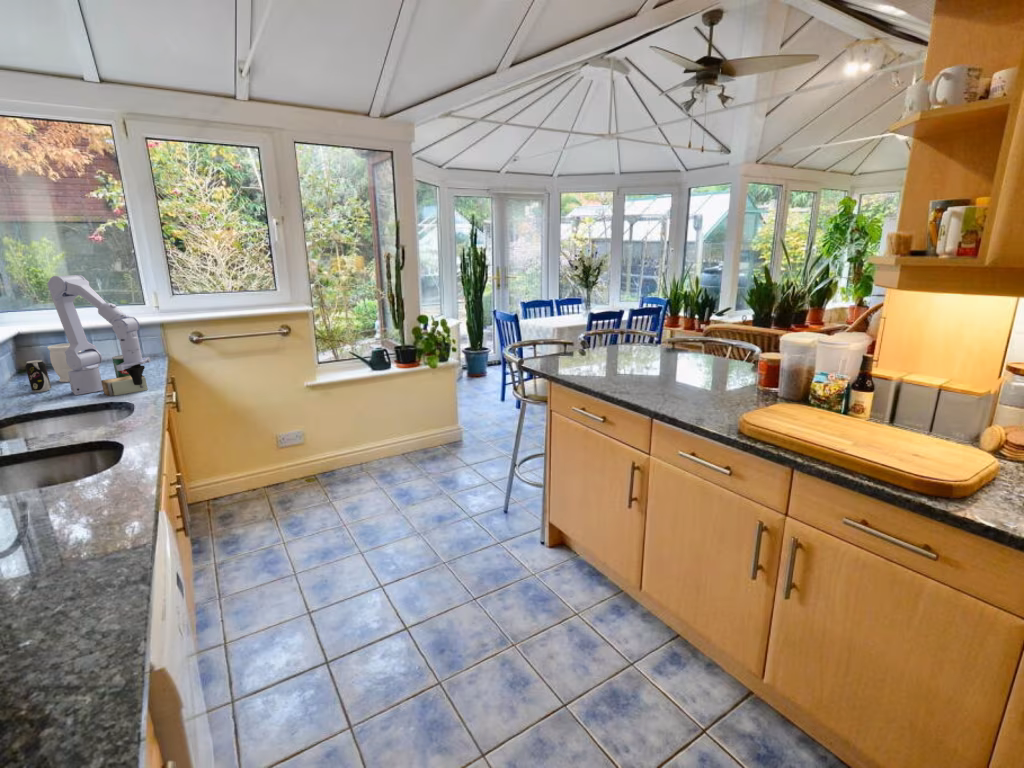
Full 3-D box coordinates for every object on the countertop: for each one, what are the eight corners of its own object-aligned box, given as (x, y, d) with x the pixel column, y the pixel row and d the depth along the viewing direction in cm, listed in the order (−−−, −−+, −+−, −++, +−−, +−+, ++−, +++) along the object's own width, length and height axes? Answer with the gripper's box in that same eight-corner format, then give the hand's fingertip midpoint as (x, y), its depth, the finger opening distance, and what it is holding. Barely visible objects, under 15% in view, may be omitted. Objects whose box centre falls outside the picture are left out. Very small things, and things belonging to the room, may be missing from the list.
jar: (94, 377, 220) (86, 342, 216) (72, 383, 210) (63, 347, 206) (72, 376, 221) (63, 342, 217) (49, 382, 211) (39, 347, 207)
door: (110, 396, 190) (107, 383, 189) (109, 395, 191) (106, 382, 190) (148, 390, 198) (145, 378, 197) (147, 389, 199) (144, 377, 198)
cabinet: (107, 396, 191) (104, 383, 190) (104, 393, 195) (101, 380, 194) (147, 388, 200) (144, 376, 199) (143, 386, 204) (140, 374, 203)
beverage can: (54, 390, 200) (46, 360, 197) (34, 393, 195) (26, 363, 192) (49, 388, 203) (41, 358, 200) (30, 391, 198) (22, 361, 195)
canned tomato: (128, 385, 206) (122, 358, 203) (112, 384, 207) (106, 358, 205) (145, 380, 213) (140, 354, 210) (130, 379, 215) (124, 354, 212)
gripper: (126, 353, 184) (134, 389, 188) (155, 346, 198) (161, 379, 202) (107, 353, 185) (115, 389, 188) (137, 346, 199) (144, 379, 202)
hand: (138, 384), depth 195 cm, fingers closed, pressing on door
